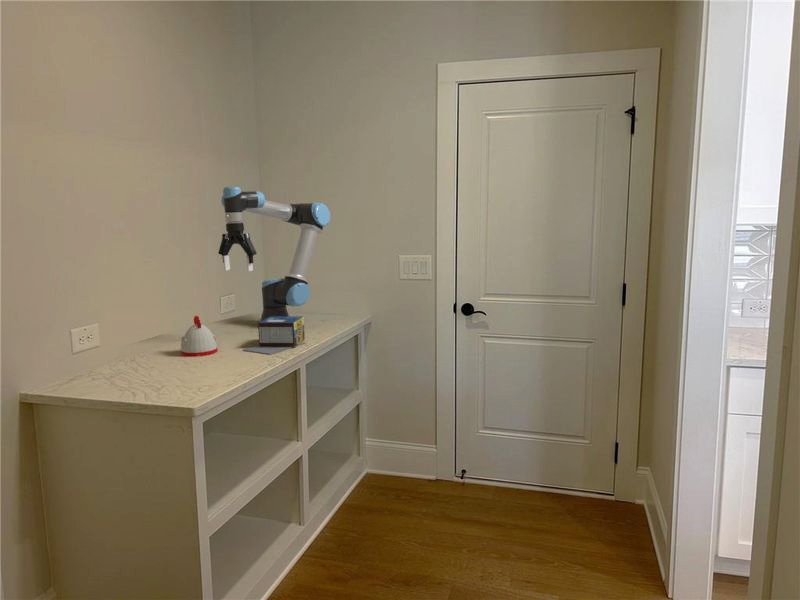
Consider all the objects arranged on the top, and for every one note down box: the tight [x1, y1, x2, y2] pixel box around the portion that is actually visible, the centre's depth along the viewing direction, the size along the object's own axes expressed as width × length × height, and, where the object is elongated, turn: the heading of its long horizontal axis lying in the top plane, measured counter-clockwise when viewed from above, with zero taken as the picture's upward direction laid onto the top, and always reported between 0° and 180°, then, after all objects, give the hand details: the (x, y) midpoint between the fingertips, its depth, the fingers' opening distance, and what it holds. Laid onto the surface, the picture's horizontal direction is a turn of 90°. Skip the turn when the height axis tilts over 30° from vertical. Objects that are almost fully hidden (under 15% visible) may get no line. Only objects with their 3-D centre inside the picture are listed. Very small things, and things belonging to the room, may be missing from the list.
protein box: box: [257, 315, 306, 348], centre depth 231 cm, size 10×15×16 cm
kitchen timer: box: [180, 315, 218, 358], centre depth 218 cm, size 14×14×15 cm
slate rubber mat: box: [242, 341, 307, 356], centre depth 226 cm, size 22×15×1 cm
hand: (238, 270), depth 241 cm, fingers open, 13 cm apart
